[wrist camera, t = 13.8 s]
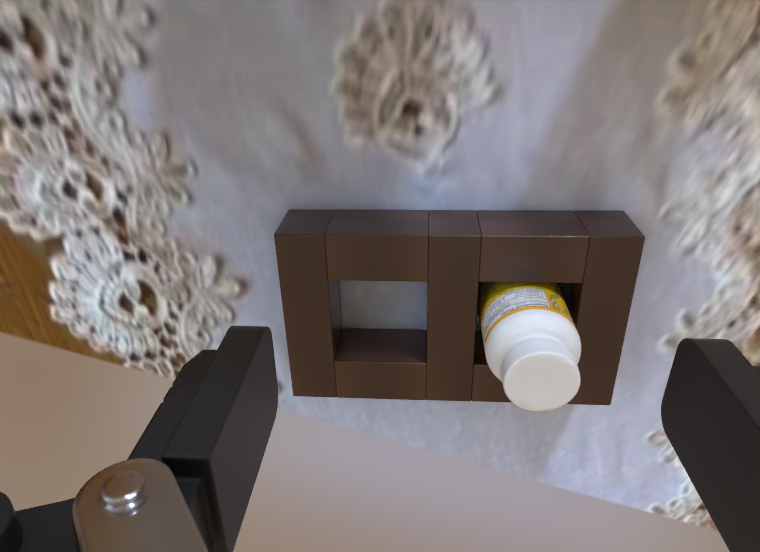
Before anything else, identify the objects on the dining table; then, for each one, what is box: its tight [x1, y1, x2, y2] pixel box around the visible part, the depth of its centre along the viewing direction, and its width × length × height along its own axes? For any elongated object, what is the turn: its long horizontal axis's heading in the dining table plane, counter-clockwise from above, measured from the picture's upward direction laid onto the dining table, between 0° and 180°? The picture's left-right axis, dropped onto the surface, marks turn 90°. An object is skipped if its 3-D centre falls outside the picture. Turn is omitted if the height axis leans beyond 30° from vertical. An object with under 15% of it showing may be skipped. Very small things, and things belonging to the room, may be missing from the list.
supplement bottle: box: [477, 282, 581, 412], centre depth 34 cm, size 5×5×10 cm
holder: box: [274, 210, 645, 405], centre depth 37 cm, size 21×12×4 cm, turn 91°
